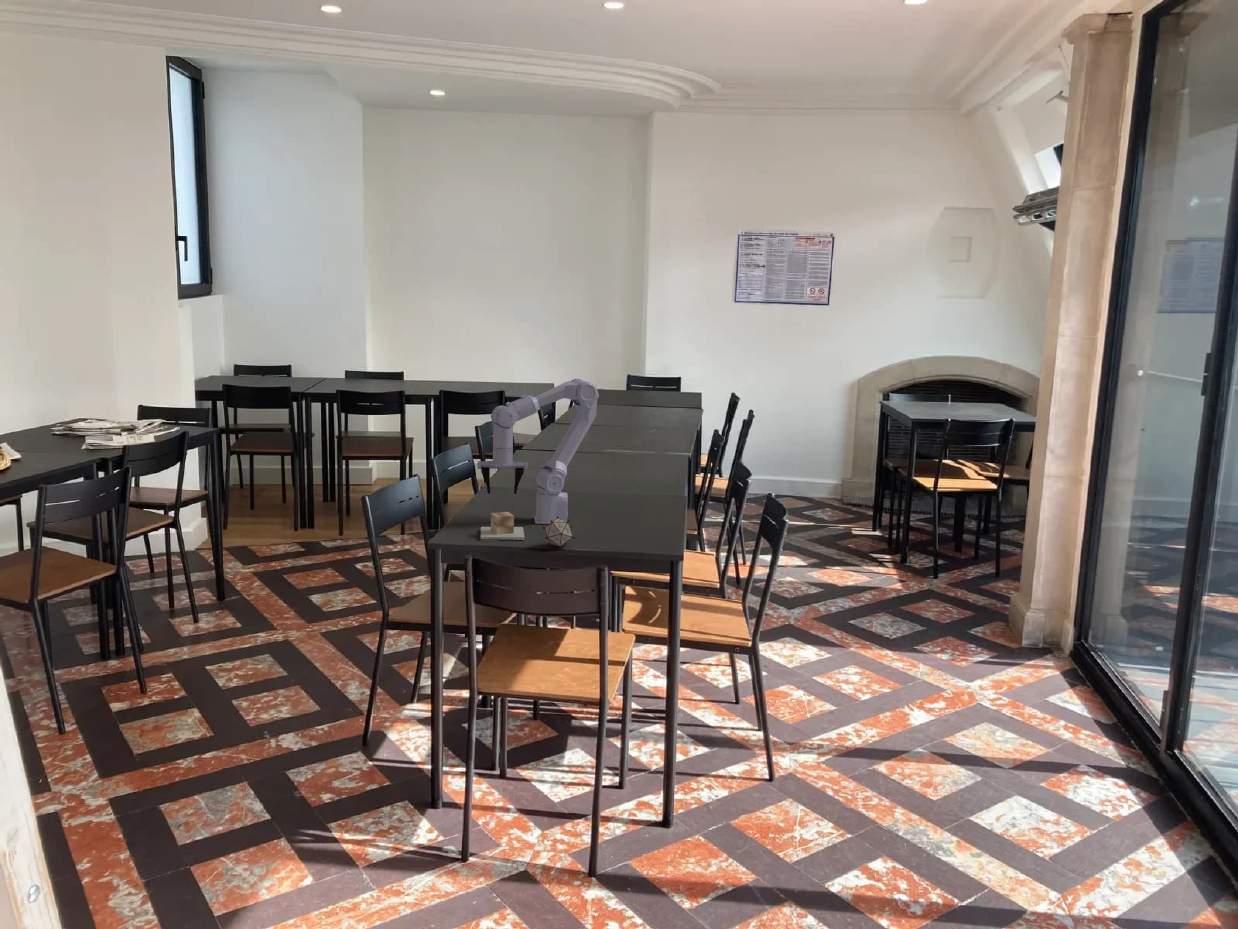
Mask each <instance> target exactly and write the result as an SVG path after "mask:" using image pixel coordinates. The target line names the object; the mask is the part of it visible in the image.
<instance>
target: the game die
mask: <svg viewBox="0 0 1238 929" xmlns="http://www.w3.org/2000/svg"><path fill="white" fill-rule="evenodd" d="M550 522H551V523H550V524H547V526H542V530H543V529H544V531H545V537H544V539H545V540H546V539H547V540H548V543H547V546H551V545H554V546H556V547H558V548H559V550H562V546H564V545H566V544H567V545H568V542H569V541H570V540H571V539H576V536H574V535H573V532H572V529H573V526H572V525H570V522H571V520H570V519H567V521H564V520H561V519H558V516H557V519H556V520H554V521H552V520H551V521H550Z"/></svg>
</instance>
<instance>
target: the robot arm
mask: <svg viewBox="0 0 1238 929" xmlns="http://www.w3.org/2000/svg"><path fill="white" fill-rule="evenodd" d="M599 397H600V394H599V391H598V388H597V386H596V385H595V384H594V383H593V382H591V381H586V380H583V379H580V378H574V379H572V380H568V381H564V382H563V383H561V384H559V385H557V386H555V387H553V388H550V389H548V390H546V391H545V392H542V393H540V394H537V395H536V396H531V395H530V394H528V395H525V394H522V395H521V396H520V398H518V399H515V400H514V401H511V402H510V401H507V402H505V405H498V406H496V407H495V408H494V409H493V410H492V411H491V412H492V413H491V414H490V419H491V421H492V423H493V432H492V433H493V434H492V435H493V436H492V460H482V461H480V460H479V461H477V465H476V466H477V470H480V471H481V474H482V476H483V479H484V482H485V485H486V490H487V494H491V484H490V483H491V482H490V480H491V478H490V476H491V470H514V486H513V494H514V495H516V494H517V492H518V487H519V485H520V482H521V480H522V477H523V475H524V473H525V470H528V469H529V468H528V466H529V462H528V461H515V460H513V459H514V458H513V456H514V453H513V452H514V451H513V450H514V448H513V446H514V426H515V424H516V423H517V422H519V421H521V420H523V419H526V418H528V417H531V416H533V415H536V414H537V412H538V410H539V408H541V407H544V406H547V405H549V404H552V403H554V402H557V401H560V400H562V399H567V400H571V401H572V403H574V407H575V410H576V415H575V416H574V418H573V420H572V422H571V424H570V425H569V427H568V428H567V431H565V434H564V436H563V437H562V439H561V441H560V443H559V444H558V446H557V448H556V450H555V452H554V453H553V454H552V456H551V457H550V459H548V460H547V461H545V463H544V464H543V466H542V467H541V468H539V469H537V471H536V472H535V474H534V482H535V484H536V485H537V489H536V508H535V510H536V512H535V514H536V515H534V518H533V519H534V524H538V525H539V524H542V525H545V524H546V525H549V524H550V523H551V522H550V521H551V520H552V521H554V520H556V519H557V516H558V519H561V520H564V521H568V518H569V517H568V516H569V511H568V510H569V509H568V508H569V506H568V505H569V504H568V502H569V499H568V498H569V496H568V492H563V491H562V490H563V489H564V486H565V479H566V477H567V475H568V466H569V464H570V462H571V460H572V458H573V457H574V455H575V453H576V452H577V450H578V448H579V446H580V444H581V443H582V442H583V439H584V438H585V436H586V435H587V433H588V431H589V429H590V428H591V426H592V424H593V422H594V421H595V418H596V416H597V409H598V407H597V406H598V399H599ZM490 469H491V470H490Z"/></svg>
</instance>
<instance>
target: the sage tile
mask: <svg viewBox="0 0 1238 929" xmlns="http://www.w3.org/2000/svg"><path fill="white" fill-rule="evenodd" d="M481 539H514V540H515V539H517V540H520V539H521V540H524V541H525V532H524V527H523V526H514V533H509V534H498V535H497V534H495V533H494V532H493V531H491V526H481V527H480V540H481Z"/></svg>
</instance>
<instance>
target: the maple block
mask: <svg viewBox="0 0 1238 929" xmlns="http://www.w3.org/2000/svg"><path fill="white" fill-rule="evenodd" d="M514 525H515V515H514V514H513V513H510V512H509V511H501V512H490V527H491V531H493V532H494V533H495V534H497V535H498V534H509V533H514V527H515V526H514Z"/></svg>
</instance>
